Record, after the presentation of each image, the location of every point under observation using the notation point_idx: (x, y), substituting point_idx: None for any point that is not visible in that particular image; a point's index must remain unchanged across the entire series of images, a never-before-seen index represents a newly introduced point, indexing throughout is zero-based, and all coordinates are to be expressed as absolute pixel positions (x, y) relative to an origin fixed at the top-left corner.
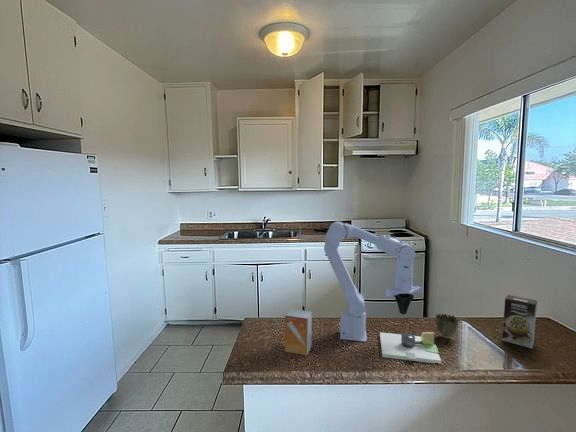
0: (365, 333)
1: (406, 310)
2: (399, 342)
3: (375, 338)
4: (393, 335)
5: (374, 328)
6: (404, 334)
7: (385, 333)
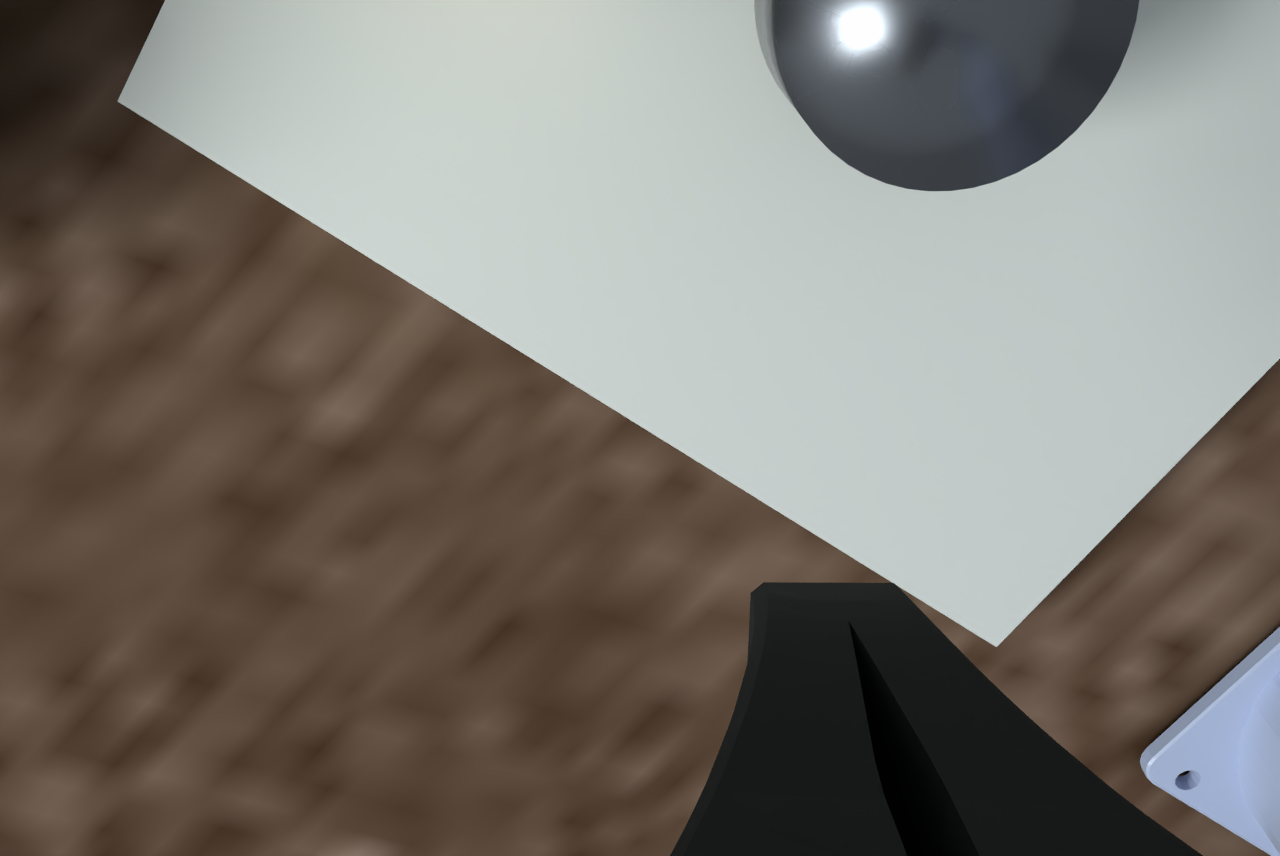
0: (1218, 717)
1: (804, 645)
2: None
3: (1143, 547)
4: (850, 461)
5: None
6: (971, 131)
7: (935, 576)
